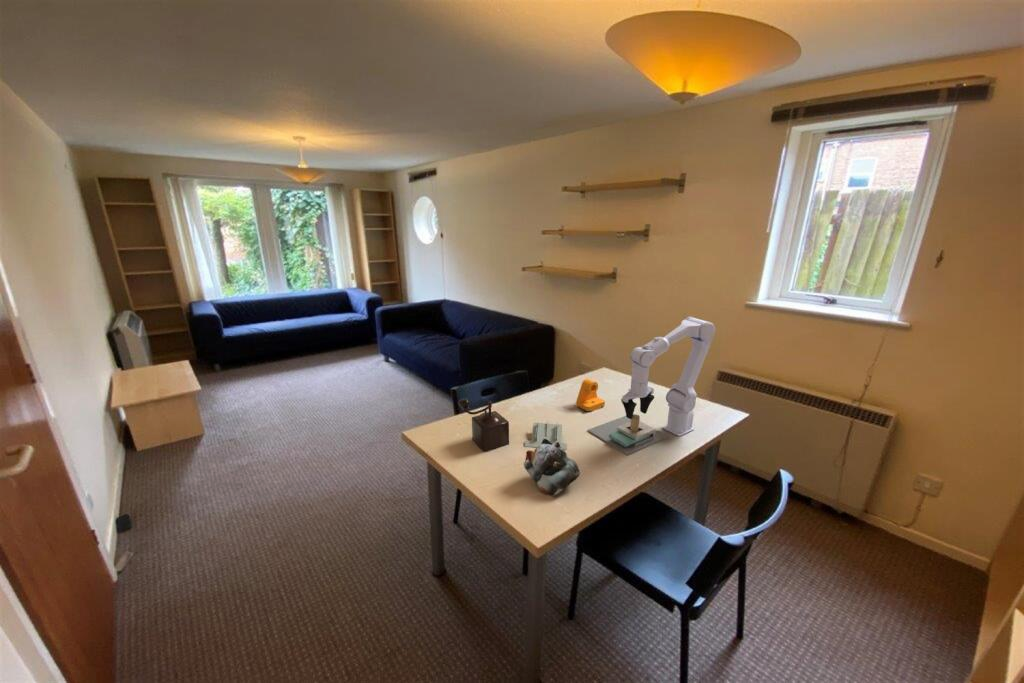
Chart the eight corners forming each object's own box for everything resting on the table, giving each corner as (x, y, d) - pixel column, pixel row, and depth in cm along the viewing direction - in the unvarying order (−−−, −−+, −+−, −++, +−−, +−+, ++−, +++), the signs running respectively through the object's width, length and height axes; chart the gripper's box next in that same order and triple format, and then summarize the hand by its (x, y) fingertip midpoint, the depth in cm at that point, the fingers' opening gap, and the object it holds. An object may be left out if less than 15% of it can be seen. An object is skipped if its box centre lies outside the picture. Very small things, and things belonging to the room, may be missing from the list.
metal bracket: (528, 417, 153) (567, 419, 151) (528, 428, 156) (567, 430, 154) (524, 445, 141) (566, 449, 139) (524, 456, 144) (566, 460, 142)
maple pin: (633, 435, 150) (635, 413, 147) (639, 438, 147) (641, 416, 144) (627, 437, 148) (629, 415, 146) (633, 441, 146) (635, 418, 143)
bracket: (587, 413, 168) (589, 387, 165) (576, 406, 174) (577, 381, 171) (605, 406, 174) (607, 381, 171) (593, 400, 180) (595, 376, 176)
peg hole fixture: (635, 428, 154) (636, 419, 153) (654, 438, 147) (655, 429, 146) (607, 439, 146) (608, 430, 145) (626, 451, 139) (627, 441, 138)
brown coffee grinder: (495, 431, 154) (494, 388, 149) (509, 444, 145) (509, 399, 140) (458, 442, 146) (456, 397, 141) (471, 457, 137) (469, 410, 132)
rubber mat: (626, 416, 165) (626, 415, 165) (667, 437, 149) (668, 436, 149) (587, 431, 154) (587, 429, 154) (627, 455, 138) (627, 454, 138)
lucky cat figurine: (546, 502, 115) (526, 459, 114) (532, 492, 126) (513, 453, 126) (588, 476, 119) (568, 434, 119) (570, 469, 131) (552, 430, 131)
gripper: (644, 373, 148) (640, 406, 152) (616, 381, 141) (614, 416, 145) (659, 379, 143) (656, 413, 147) (632, 388, 135) (629, 423, 139)
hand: (636, 415), depth 145 cm, fingers open, 7 cm apart
